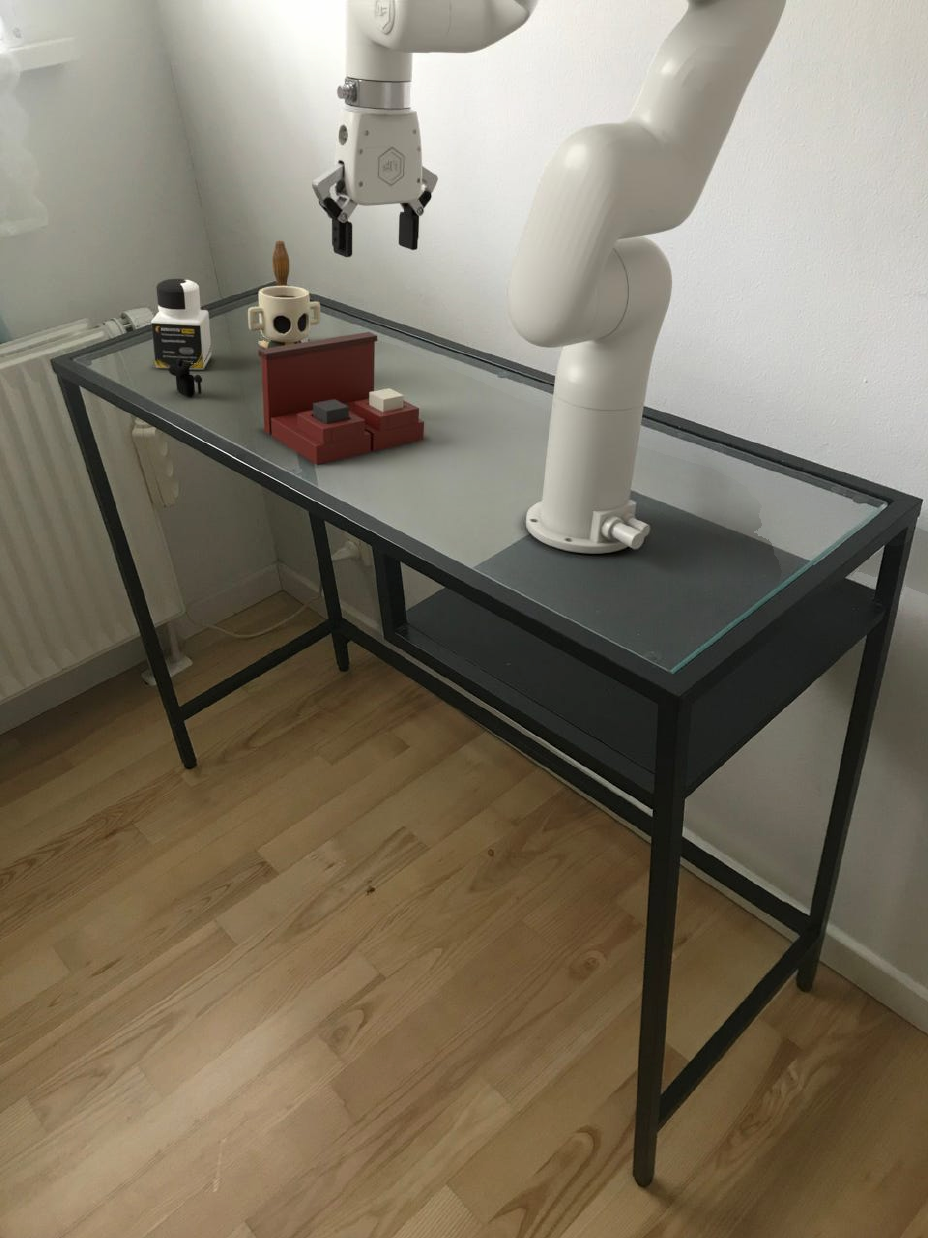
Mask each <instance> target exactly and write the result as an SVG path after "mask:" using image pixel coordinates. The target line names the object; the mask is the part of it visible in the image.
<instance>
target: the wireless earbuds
mask: <svg viewBox="0 0 928 1238" xmlns="http://www.w3.org/2000/svg"><path fill="white" fill-rule="evenodd" d="M177 365H178V366H177ZM177 365H175V364H171V365H170V368H169V369H168V371H169V374H170V375H171V376H173V377H175V384H176V386H175V387H176V391H177V392H178V393H179V394H182V396H183V395H184V396H186V397H189V398H190V397H194V396H195V394H196V386H195V385H196V384H195V383H197V393H198V395H202V394H203V393H202V382H203V378H202V376H201V375H200V374H196V375H193V374H191V373H190V370H189V369H190V367H191V366H190V363H189V362H188V361H183V360H182V359H180V358H178V359H177ZM181 366H183V367H181Z"/></svg>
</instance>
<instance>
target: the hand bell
mask: <svg viewBox="0 0 928 1238" xmlns="http://www.w3.org/2000/svg"><path fill="white" fill-rule="evenodd" d="M288 253H289V252H288V251H287V248H286V244H285V241H283V240H277V241H275V245H274V250H273V253H272V270H273V275H274V277H275V281H276V286H288V279H289V275H290V258H289V254H288ZM268 343H269V342H266V341H264V340H263V341H259V340H258V345H259V347H261V348H262V349H266V348H267V346H268Z"/></svg>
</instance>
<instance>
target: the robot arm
mask: <svg viewBox="0 0 928 1238" xmlns="http://www.w3.org/2000/svg"><path fill="white" fill-rule="evenodd" d="M539 1H540V0H345V78H344V84H343V85H339V86H338V87H337V90H336V95H337V97H338V98H339V99H340V100H342V99H343V100H344V104H345V108H343V107H342V108H341V110H340V114H339V119H338V125H337V130H336V139H335V150H334V166H332V167H331V168H329V169H328V170H326V171H324V173H322V174H320V176H318V177H316V178H315V179H314V180H313V181H312V183H311V187H312V189H313V191H314V193H315V197H316V198H317V200H318V204H319V206H320V207H321V208H322V209H323V210H324V212H325V213H326V215H327V217H328V218H329V219H331V245H332V248H333V252H334V253H335V254H336V255H340V256H342V257H344V258H351V257H352V256H353V222H351V221H349V219H350V217H351V216H352V214H353V212H354V210H355V209H356V207H357V206H358V205H359V206H363V207H366V206H369V207H370V206H371V207H372V206H385V205H396V204H397V205H400V206H401V207H402V209H403V211H400V212H399V215H398V217H399V218H398V245H399V246H401V247H403V248H405V249H409V250H411V251H415V250H418V241H419V237H420V235H419V234H420V217H422V216H423V215H424V213H425V208H426V207H427V205H429V203H430V201H431V199H432V198H433V197H432V196H433V195H432V193H433V192H434V190H435V188H436V186H437V182H438V180H439V177H438V175H437V174H435V173H434V172H432V171H431V170H429V169H428V168H426V167H425V166H423V151H422V150H423V149H422V139H421V138H422V137H421V130H420V123H419V118H418V117H419V116H418V112H417V111H416V110H412V89H413V87H412V85H413V81H412V80H413V54H433V53H437V54H438V53H440V54H471V53H476V52H480V51H482V50H484V49H487V48H489V47H491V46H493V45H494V44H497V42H500V41H501V40H503V39H504V38H506V37H507V36H510V35H511V34H513V33H515V32H516V31H518V30H519V29H521V28H522V27H523V26H524V25H525V24H526V23H527V22H528V21H529V19H530V18H531V17H532V16H533V13H534V11H535V10H536V7H537V5H538V3H539ZM686 1H687V5H688V6H687V9H686V12H685V13H684V15H683V16H682V17H681V19H680V20H679V21H678V23H676V25H675V26H674V27H673V28H672V29H671V30H670V32H669V33H668V34H667V36H666V37H665V39H664V40H663V42H662V43H661V44H660V46H659V48H658V49H657V50H656V52H655V53H654V56H653V58H652V60H651V62H650V64H649V66H648V68H647V72H646V73H645V77H644V80H643V84H642V86H641V89H640V91H639V93H638V96H637V99H636V101H635V103H634V105H633V108H631V111H630V113H629V114H628V116H627V117H626V118H625V119H624V120H622V121H621V122H609V123H608V122H606V123H596V124H595V123H594V124H591V125H586V126H584V127H581V128H579V129H577V130H575V131H573V132H572V133H570V134H569V135H567V136H566V137H565V138H564V139H563V140H562V141H561V142H560V143H559V144H558V145H557V147H555V149H554V150H553V152H552V153H551V155H550V156H549V158H548V160H547V162H546V163H545V166H544V168H543V170H542V172H541V175H540V178H539V181H538V184H537V187H536V190H535V193H534V196H533V200H532V202H531V205H530V208H529V212H528V214H527V218H526V221H525V224H524V227H523V229H522V233H521V236H520V238H519V242H518V245H517V248H516V251H515V254H514V258H513V261H512V263H511V266H510V267H511V268H510V271H509V276H508V280H507V288H506V299H507V300H506V302H507V310H508V314H509V318H510V320H511V323H512V325H513V327H514V329H515V331H516V332H517V334H518V335H519V336H520V337H521V338H522V339H524V340H525V341H526V342H528V343H529V344H531V345H534V346H536V347H541V348H547V349H548V348H549V349H550V348H551V349H552V348H554V349H555V348H562V350H561V352H560V355H559V359H558V361H557V365H556V369H555V376H554V383H553V394H552V401H551V402H552V403H551V412H550V423H549V432H548V442H547V451H546V462H545V468H544V469H545V470H544V479H543V489H542V498H541V500H540V501H538V502H536V503H534V504H533V505H531V506H530V507H529V508H528V510H527V512H526V516H525V527H526V529H527V531H528V532H529V533H530V534H531V535H532V537H534V538H535V539H537V540H538V541H540V542H541V543H542V544H544V545H547V546H549V547H553V548H555V549H558V550H562V551H565V552H571V553H575V554H576V553H577V554H589V555H593V554H594V555H597V554H600V555H601V554H610V553H615V552H619V551H621V550H624V549H626V548H628V547H629V548H631V549H633V550H638V549H640V547H642V545H643V544H644V540H645V537H647V536H648V535H649V534H650V531H651V526H650V525H649V524H647V523H646V522H643V521H641V520H638V519H637V518H636V516H635V515H636V510H637V509H636V508H637V502H636V501H635V500H633V499H630V497H631V491H632V485H633V478H634V473H635V467H636V466H635V464H636V460H637V452H638V446H639V439H640V433H641V427H642V419H643V413H644V407H645V401H646V397H647V396H646V395H647V389H648V383H649V378H650V377H649V376H650V371H651V367H652V366H651V365H652V362H653V356H654V353H655V350H656V345H657V342H658V339H659V336H660V333H661V330H662V327H663V325H664V322H665V319H666V315H667V312H668V310H669V305H670V301H671V297H672V288H673V275H672V270H671V265H670V262H669V259H668V258H667V255H666V254H665V252H664V251H663V250H662V248H661V247H660V246H659V245H658V244H657V243H656V242H655V241H653V240H652V239H650V238H649V237H647V236H651V235H656V234H660V233H664V232H668V231H671V230H674V229H675V228H678V227H680V226H681V225H683V223H684V222H685V221H686V220H687V219H688V218H690V216H691V214H692V213H693V211H694V210H695V208H696V206H697V205H698V202H699V200H700V198H701V196H702V193H703V191H704V189H705V186H706V185H707V182H708V180H709V177H710V175H711V173H712V171H713V168H714V166H715V164H716V162H717V159H718V157H719V155H720V153H721V150H722V148H723V146H724V144H725V141H726V139H727V136H728V134H729V133H730V130H731V127H732V125H733V123H734V120H735V118H736V115H737V112H738V109H739V107H740V105H741V103H742V101H743V98H744V96H745V94H746V92H747V89H748V87H749V86H750V84H751V82H752V80H753V77H754V76H755V73H756V72H757V70H758V68H759V65H760V63H761V61H762V60H763V58H764V56H765V54H766V52H767V50H768V48H769V47H770V44H771V42H772V40H773V38H774V35H775V33H776V31H777V29H778V26H779V24H780V22H781V19H782V16H783V13H784V10H785V7H786V3H787V0H686ZM333 186H334V192H335V195H336V196H335V199H333V198H332V194H331V192H330V191H331V188H332V187H333Z"/></svg>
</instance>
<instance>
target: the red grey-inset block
mask: <svg viewBox="0 0 928 1238" xmlns="http://www.w3.org/2000/svg"><path fill="white" fill-rule="evenodd" d="M271 429H272V434H271V437H272V438H274V439H276V440H277V441H279V442H281V443H282V444H284V445H285V446H287V447H288V448H289V449H291V450H293V451H294V452H296V453H298V454H299V455H301V456H302V457H304V458H305V459H307V460H309V461H311V462H312V463H313V464H315V465H317V466H318V465H322V464H327V463H331V462H335V461H339V460H342V459H346V458H348V459H349V458H351V457H356V456H361V455H364V454H368V453H372V452H371V451H372V450H371V434H370V433H369V432H367V431H365V420H364V419H362V418H360V417H359V416H357V415H355V414H353V413H351V412H350V411H349V420H344V421H340V422H335V423H330V424H327V425H326V424H325V423H323V422H321V421H320V420H318V419H316V418H314V417H313V410H308V411H303V412H298V413H293V414H288V415H283V416H278V417H273V418H271Z"/></svg>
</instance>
